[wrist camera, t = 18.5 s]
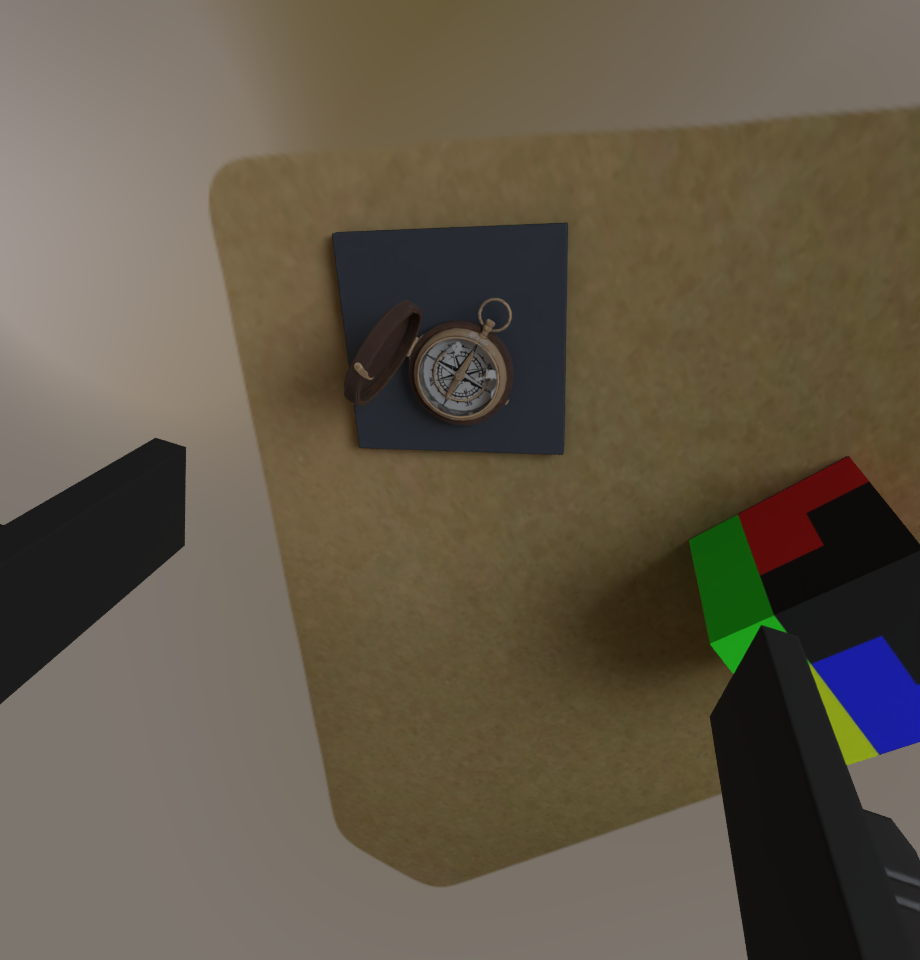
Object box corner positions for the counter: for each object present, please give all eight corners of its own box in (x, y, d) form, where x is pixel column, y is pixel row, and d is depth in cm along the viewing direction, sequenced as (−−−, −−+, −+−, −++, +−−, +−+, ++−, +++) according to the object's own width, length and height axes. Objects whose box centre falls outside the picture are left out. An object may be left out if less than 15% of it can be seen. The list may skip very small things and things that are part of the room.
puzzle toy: (933, 582, 39) (1027, 706, 30) (772, 650, 43) (814, 776, 34) (848, 456, 36) (923, 549, 28) (688, 540, 41) (709, 643, 32)
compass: (483, 439, 40) (458, 492, 33) (372, 371, 39) (325, 411, 33) (554, 327, 36) (542, 363, 30) (432, 251, 36) (392, 270, 29)
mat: (567, 222, 34) (567, 223, 34) (564, 449, 40) (563, 455, 39) (336, 231, 37) (331, 233, 36) (363, 443, 43) (359, 448, 42)
